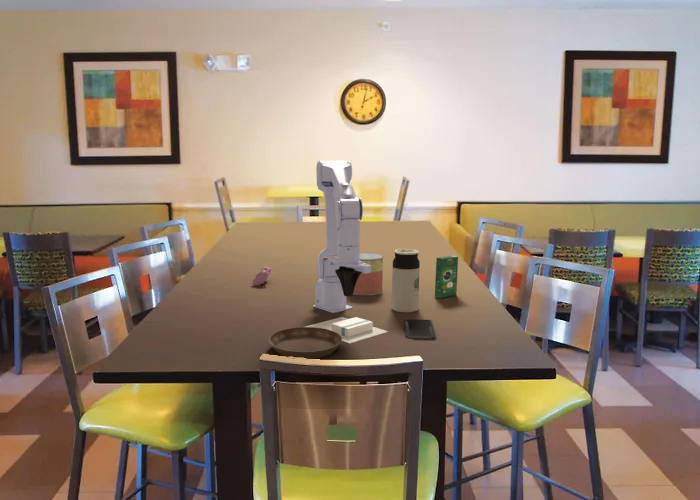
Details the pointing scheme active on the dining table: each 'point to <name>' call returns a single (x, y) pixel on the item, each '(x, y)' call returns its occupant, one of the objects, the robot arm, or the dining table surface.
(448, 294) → the coffee box
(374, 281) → the canned food
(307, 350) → the plant saucer
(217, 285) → the dining table surface
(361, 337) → the mat
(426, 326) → the phone
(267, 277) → the pink bird figurine
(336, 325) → the card deck
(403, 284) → the travel mug
